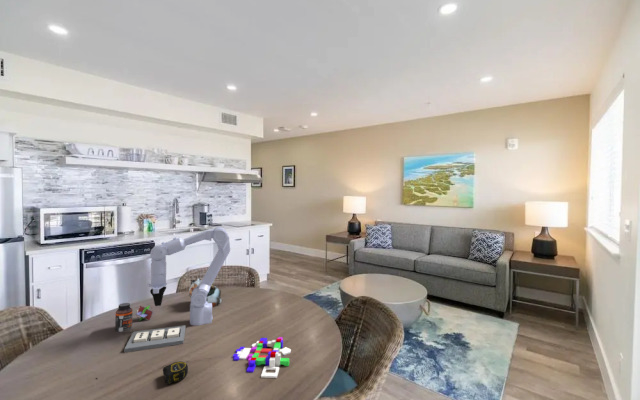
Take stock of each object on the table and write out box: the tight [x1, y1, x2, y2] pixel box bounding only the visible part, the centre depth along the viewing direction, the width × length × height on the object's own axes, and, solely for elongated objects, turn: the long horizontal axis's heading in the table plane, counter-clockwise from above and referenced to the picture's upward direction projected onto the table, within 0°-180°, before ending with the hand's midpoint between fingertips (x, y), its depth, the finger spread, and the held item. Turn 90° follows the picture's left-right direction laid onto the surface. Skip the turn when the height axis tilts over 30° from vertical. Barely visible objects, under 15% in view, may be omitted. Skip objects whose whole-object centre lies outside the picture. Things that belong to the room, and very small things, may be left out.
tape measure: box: [162, 360, 189, 385], centre depth 93 cm, size 7×7×4 cm
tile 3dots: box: [134, 331, 149, 343], centre depth 113 cm, size 4×6×4 cm, turn 21°
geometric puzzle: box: [135, 304, 154, 322], centre depth 135 cm, size 7×7×8 cm
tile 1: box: [150, 329, 165, 341], centre depth 115 cm, size 4×6×4 cm, turn 21°
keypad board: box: [123, 324, 186, 353], centre depth 115 cm, size 19×14×2 cm
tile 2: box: [166, 328, 180, 339], centre depth 117 cm, size 4×6×4 cm, turn 21°
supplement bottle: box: [114, 302, 133, 333], centre depth 123 cm, size 6×6×11 cm
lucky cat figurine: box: [188, 278, 223, 308], centre depth 155 cm, size 17×14×16 cm
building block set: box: [232, 336, 292, 379], centre depth 107 cm, size 25×20×4 cm
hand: (158, 305), depth 125 cm, fingers closed
